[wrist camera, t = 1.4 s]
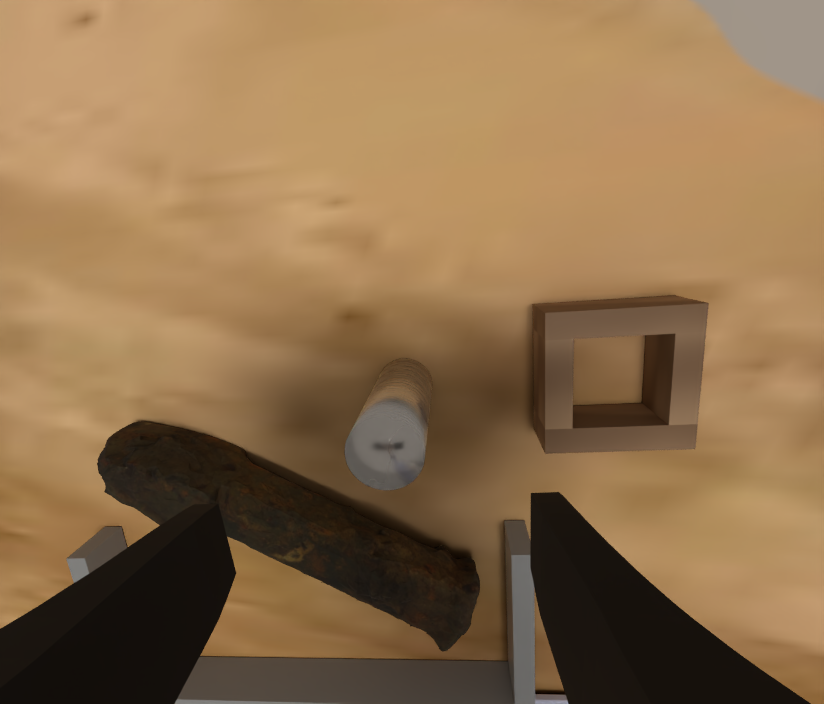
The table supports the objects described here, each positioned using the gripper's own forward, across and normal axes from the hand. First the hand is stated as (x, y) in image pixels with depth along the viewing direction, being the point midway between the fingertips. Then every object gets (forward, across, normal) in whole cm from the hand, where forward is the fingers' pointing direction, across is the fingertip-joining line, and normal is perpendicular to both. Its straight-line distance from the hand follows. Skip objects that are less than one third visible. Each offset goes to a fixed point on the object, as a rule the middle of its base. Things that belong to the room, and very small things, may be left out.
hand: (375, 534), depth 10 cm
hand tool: (+11, +6, +8) cm, 15 cm away
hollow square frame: (+11, -9, 0) cm, 14 cm away
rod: (+11, 0, +1) cm, 11 cm away
